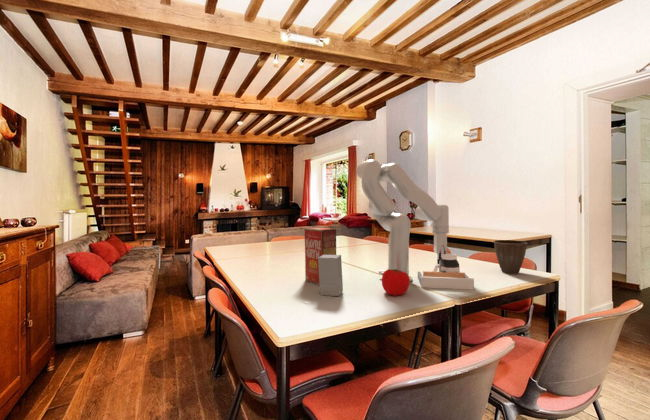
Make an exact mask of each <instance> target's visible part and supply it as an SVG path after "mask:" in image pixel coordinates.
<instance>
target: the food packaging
mask: <svg viewBox="0 0 650 420" xmlns="http://www.w3.org/2000/svg"><path fill="white" fill-rule="evenodd" d="M322 255H337V229H336V228H330V227H329V228H328V227H321V226H320V227H318V226H316V227H315V226H314V227H306V228H304V263H305V267H304V269H305V275H304V276H305V281H306V282H309V283H313V284H316V285H319V266H318V258H319V257H320V256H322Z"/></svg>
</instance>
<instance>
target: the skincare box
mask: <svg viewBox="0 0 650 420" xmlns="http://www.w3.org/2000/svg"><path fill="white" fill-rule="evenodd" d="M318 266H319V284H318V285H319V295H320V296H328V297H329V296H332V297H340V295H341V294H342V293H343V292H344V289H343V285H344V284H343V283H344V282H343V269H342V268H343V266H342V255H341V254H336V255H322V256H320V257H319V258H318Z"/></svg>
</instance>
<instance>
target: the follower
mask: <svg viewBox="0 0 650 420" xmlns="http://www.w3.org/2000/svg"><path fill="white" fill-rule="evenodd" d="M465 274H466V272H461V271H460V272H446V270H442V272H439V271H437V272H433V271H427V270H425V271H423V270H422V277H449V278H465Z"/></svg>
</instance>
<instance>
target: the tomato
mask: <svg viewBox="0 0 650 420" xmlns="http://www.w3.org/2000/svg"><path fill="white" fill-rule="evenodd" d="M384 271H385V272H384V273H383V275H381V276H382V277H381V286H382V289H383V290H384V291H385V293H386V294H387V295H391V296H394V297H395V296H402V295H404V294H405V293H406V292H408V289H409V287H410V283H411V281H410V278H409V276H410V275H409V276H408V275H407V273H405V272H403V271H400V270H397V269H394V270H393V269H392V270H390V269H389V270H388V269H385V270H384Z"/></svg>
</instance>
